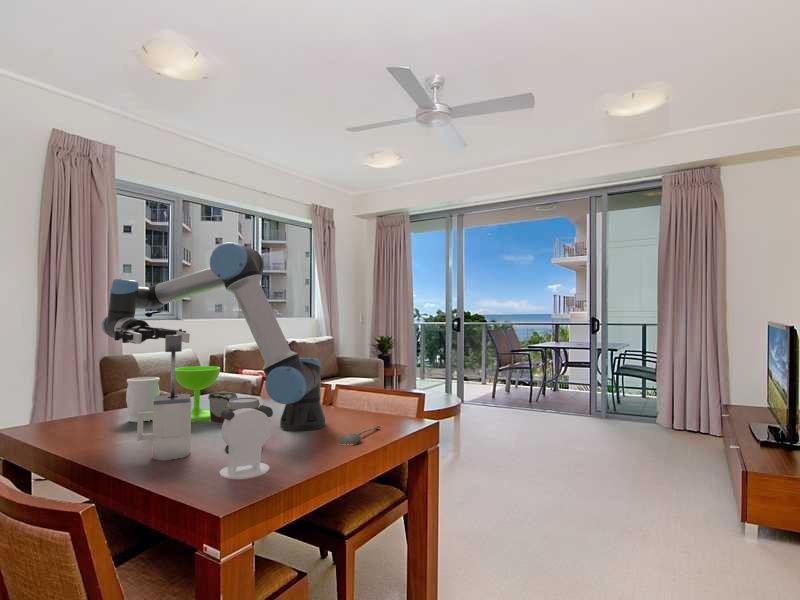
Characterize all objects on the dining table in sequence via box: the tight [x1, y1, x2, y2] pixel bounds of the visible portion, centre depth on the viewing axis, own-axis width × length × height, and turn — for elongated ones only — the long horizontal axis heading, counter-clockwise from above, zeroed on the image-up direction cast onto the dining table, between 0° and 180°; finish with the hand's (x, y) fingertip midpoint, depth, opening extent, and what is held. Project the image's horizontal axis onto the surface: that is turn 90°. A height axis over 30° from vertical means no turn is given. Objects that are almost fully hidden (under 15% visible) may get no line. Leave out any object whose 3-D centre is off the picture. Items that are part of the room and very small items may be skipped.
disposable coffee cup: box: [227, 396, 261, 411], centre depth 141 cm, size 10×10×12 cm
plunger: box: [164, 335, 183, 398], centre depth 126 cm, size 4×4×17 cm
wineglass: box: [175, 365, 221, 423], centre depth 172 cm, size 16×16×18 cm
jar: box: [125, 376, 161, 423], centre depth 167 cm, size 11×10×15 cm
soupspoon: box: [337, 425, 381, 445], centre depth 144 cm, size 22×3×7 cm
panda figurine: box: [219, 404, 274, 480], centre depth 113 cm, size 12×11×15 cm
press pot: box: [136, 393, 192, 461], centre depth 124 cm, size 13×9×16 cm
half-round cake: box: [208, 391, 238, 425], centre depth 165 cm, size 12×6×10 cm, turn 58°
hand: (165, 338), depth 133 cm, fingers open, 13 cm apart
